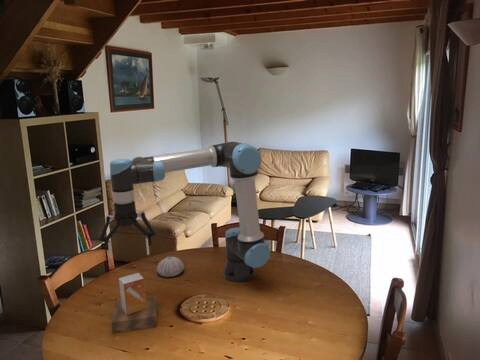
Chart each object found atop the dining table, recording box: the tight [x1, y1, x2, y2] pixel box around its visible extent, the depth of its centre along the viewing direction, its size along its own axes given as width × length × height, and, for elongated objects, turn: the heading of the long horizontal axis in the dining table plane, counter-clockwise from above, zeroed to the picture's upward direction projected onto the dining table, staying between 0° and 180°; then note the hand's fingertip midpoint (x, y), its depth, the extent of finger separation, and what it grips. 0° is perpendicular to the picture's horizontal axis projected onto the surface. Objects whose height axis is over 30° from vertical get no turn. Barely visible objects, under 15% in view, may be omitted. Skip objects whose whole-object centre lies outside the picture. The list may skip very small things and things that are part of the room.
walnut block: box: [111, 295, 158, 334], centre depth 158 cm, size 16×16×5 cm
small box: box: [118, 272, 147, 315], centre depth 156 cm, size 8×6×13 cm
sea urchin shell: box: [156, 256, 185, 278], centre depth 198 cm, size 13×14×8 cm
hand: (129, 255), depth 153 cm, fingers open, 13 cm apart
